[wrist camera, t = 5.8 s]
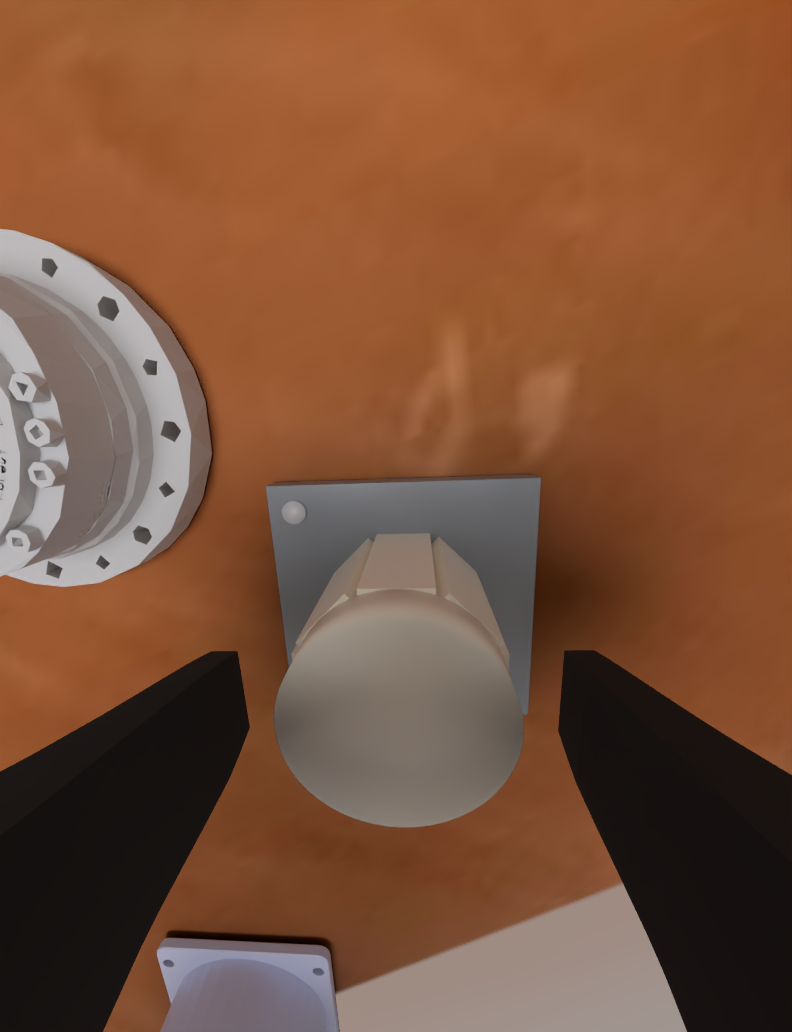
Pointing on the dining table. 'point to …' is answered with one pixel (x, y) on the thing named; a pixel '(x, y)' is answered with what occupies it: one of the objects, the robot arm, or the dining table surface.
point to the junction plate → (408, 510)
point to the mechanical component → (90, 421)
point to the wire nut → (401, 689)
